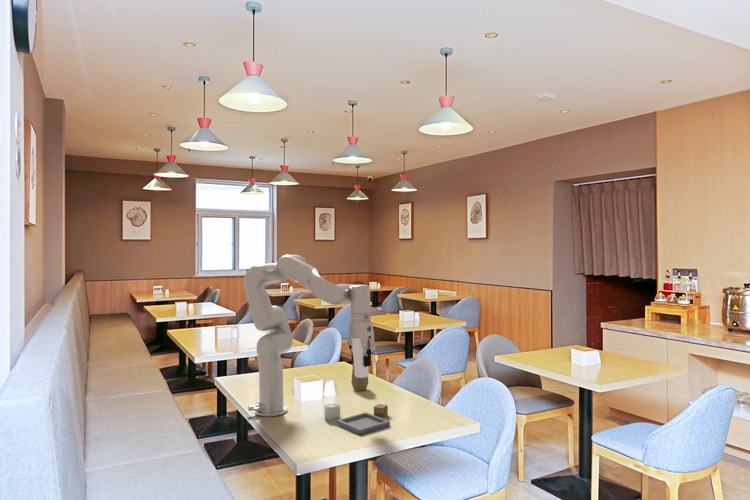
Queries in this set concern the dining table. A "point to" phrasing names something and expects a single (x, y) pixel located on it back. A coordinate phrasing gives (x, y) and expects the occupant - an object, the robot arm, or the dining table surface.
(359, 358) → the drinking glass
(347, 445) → the dining table surface
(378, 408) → the walnut block
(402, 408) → the dining table surface
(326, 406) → the pale green rounded cylinder
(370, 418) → the slate tray
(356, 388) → the squeeze bottle
